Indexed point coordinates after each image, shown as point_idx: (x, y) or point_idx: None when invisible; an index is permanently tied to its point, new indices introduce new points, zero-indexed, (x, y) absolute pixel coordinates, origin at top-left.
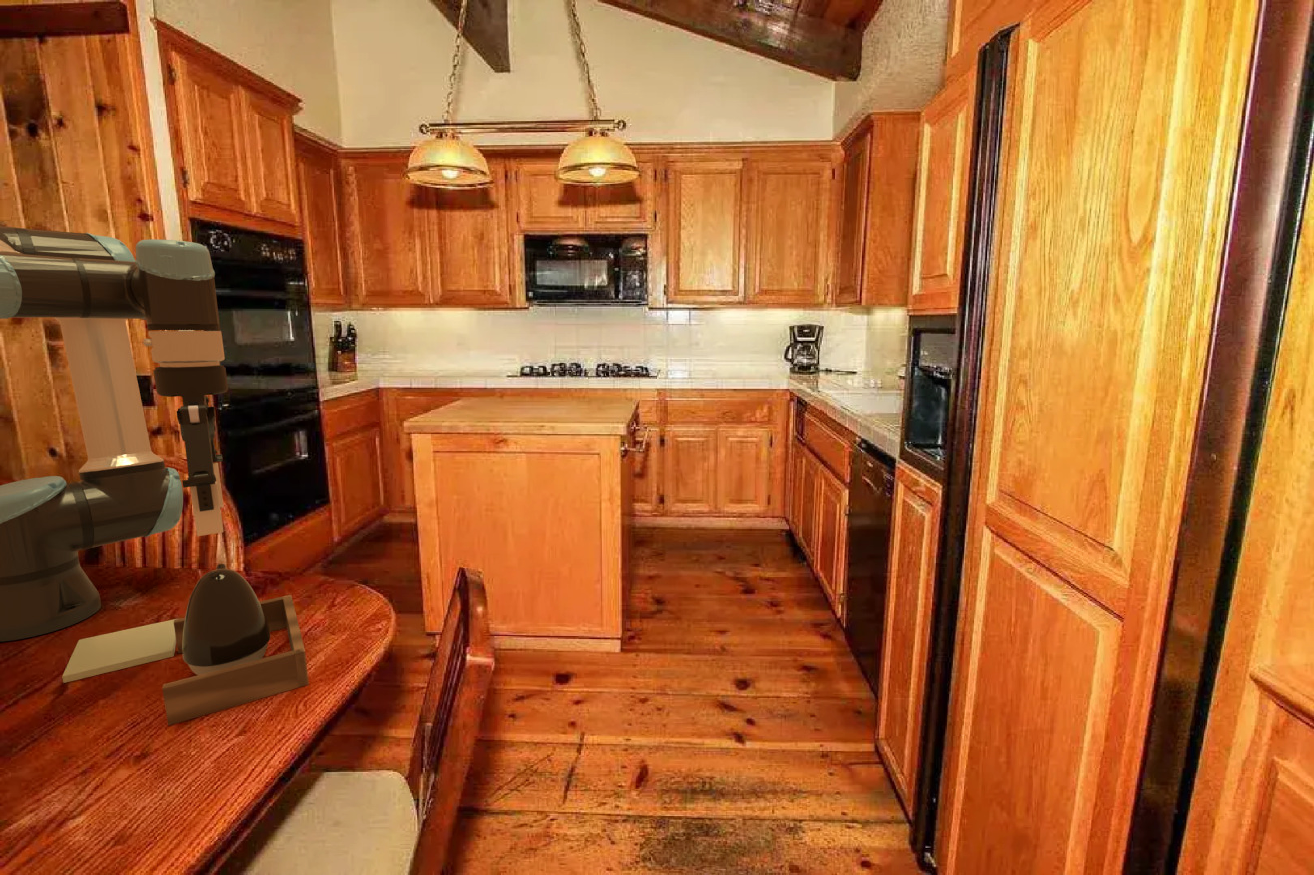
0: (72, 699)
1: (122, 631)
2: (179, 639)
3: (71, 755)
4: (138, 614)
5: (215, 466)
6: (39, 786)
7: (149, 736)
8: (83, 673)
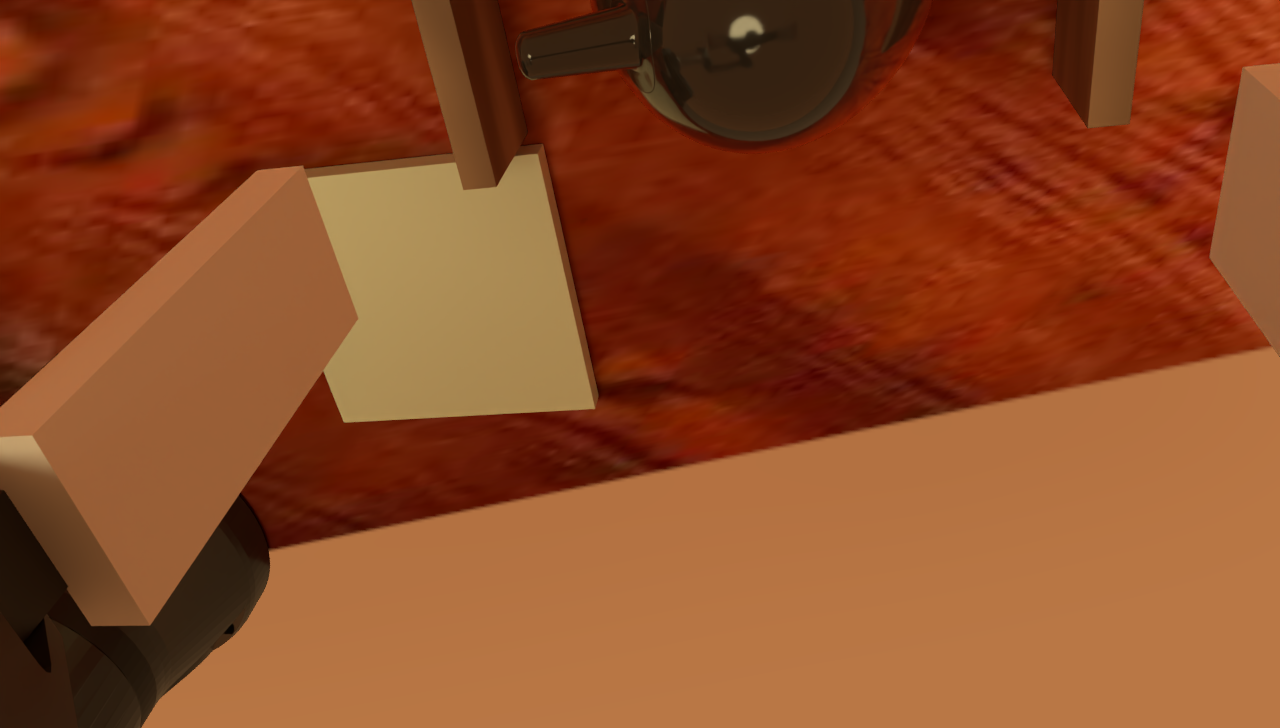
0: (719, 354)
1: None
2: (511, 145)
3: (1075, 288)
4: None
5: (70, 438)
6: (1192, 320)
7: None
8: (587, 365)
